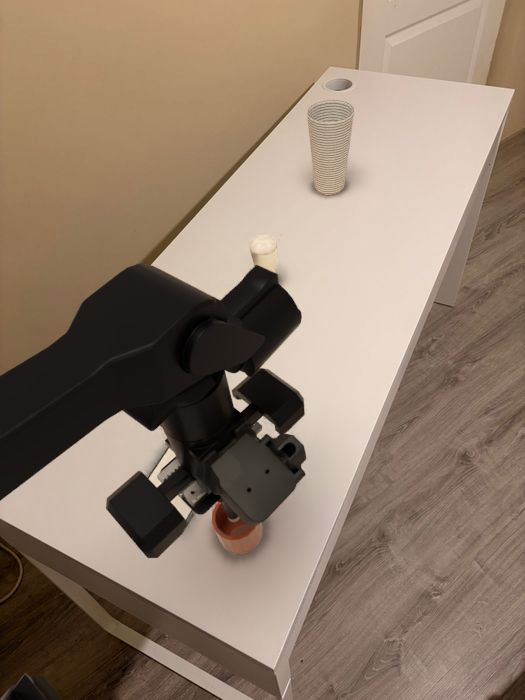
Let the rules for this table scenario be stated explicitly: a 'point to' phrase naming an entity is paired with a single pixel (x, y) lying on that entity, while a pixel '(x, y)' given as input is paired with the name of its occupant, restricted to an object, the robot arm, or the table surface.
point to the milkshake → (264, 251)
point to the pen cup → (235, 532)
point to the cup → (330, 143)
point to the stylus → (230, 513)
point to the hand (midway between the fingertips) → (225, 492)
